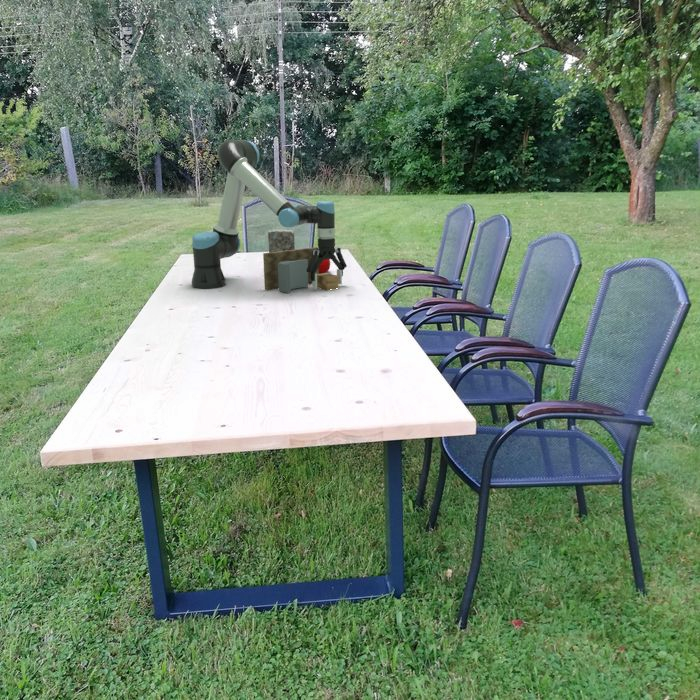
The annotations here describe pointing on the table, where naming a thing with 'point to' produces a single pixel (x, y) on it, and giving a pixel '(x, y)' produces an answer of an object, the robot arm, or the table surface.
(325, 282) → the block
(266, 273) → the wall frame
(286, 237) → the stone block
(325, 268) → the tomato
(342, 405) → the table surface
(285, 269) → the gate
